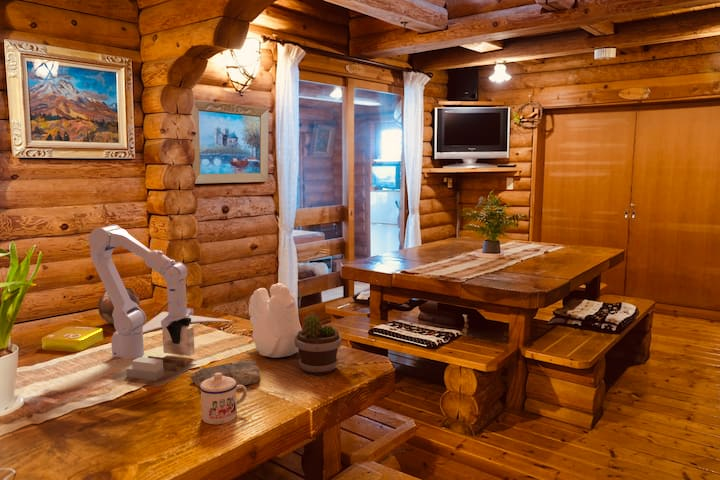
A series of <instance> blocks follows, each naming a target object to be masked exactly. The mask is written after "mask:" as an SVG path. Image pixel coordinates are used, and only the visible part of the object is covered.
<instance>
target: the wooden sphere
mask: <svg viewBox="0 0 720 480" xmlns="http://www.w3.org/2000/svg"><path fill="white" fill-rule="evenodd" d="M125 288H126V291H127V293H128V295H129V297H130V299H131V300H132V301H133V302H135V303H137V304H138V306H139V308H140V309H141V307H140V306H141V305H140V304H141V303H140V299H139V296H138V295H137V294H136V292H135V291H134V290H133V289H131V288H130V287H129V288H128V287H126V286H125ZM97 307H98V308H97V309H98V313H99V315H100V317H101V318H102V320H104V322H106V323H108V324H110V325H113V326H114V319H113V317H112V313H113V310H114V306H113V304H112V302H111V299H110V297H109V295H108V293H107V291H106V290H105V291H104V293H102V295H101V296H100V298H99V300H98V304H97Z"/></svg>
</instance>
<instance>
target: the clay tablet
mask: <svg viewBox="0 0 720 480" xmlns="http://www.w3.org/2000/svg"><path fill="white" fill-rule="evenodd" d="M218 372H219V373H222V376H225V377H231V378H233V379H234V380H235V381H236V383H237V385H243V386H247V385H252V384H256V383H259V382H260V381H261V375H260V374H261V373H260V367H258V366H257V362H256V361H252V360H244V361H238V362H236V363H235V362H234V363H232V362H229V363H222V364H218V365H215V366H209V367H203V368H201V369H198V370H196V371H195V372H193V373H192V374H191V375H190V376H189V378H190V380H191V382H192V383H194V384H195V385H196V386H197V387H198V388H200V385H201V383H202V382H203V381H205V380H206V379H209V378H211V377H213V376H214V374H215V373H218Z"/></svg>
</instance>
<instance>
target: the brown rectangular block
mask: <svg viewBox="0 0 720 480" xmlns="http://www.w3.org/2000/svg"><path fill="white" fill-rule="evenodd" d="M161 331H162V333H161V334H162V349H163V351H162V352H163V354H168V355H169V354H170V355H178V356H179V355H181V356H188V357H191V356H193V355H195V353H196V352H195V351H196V350H195V333H194V331H195V330H194V326H192V325H189V326H183V325H182V328H181V332H180V343H179V344H173V342H172V339H171V336H170V333H169V331H168V330H167V328H166V327H164V326H162V328H161Z"/></svg>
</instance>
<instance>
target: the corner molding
mask: <svg viewBox="0 0 720 480" xmlns="http://www.w3.org/2000/svg"><path fill="white" fill-rule="evenodd" d="M167 315H168V311H161V312H160V313H158V314H157V315H156V316H154V317H153V318H151V319H150V320H149V321H147V322H145V323H144V324H143V334H146V333H149V332H152V331H155V330H161V329H162V326H161V320H163V319H164V318H165V317H166V316H167ZM188 318H191V322H190V324H196V323H210V322H212V323H213V322H216V323H217V322H232V320H229V319H222V318H215V317H207V316H202V315H200V316H199V315H194V314H193V315H190V317H188Z"/></svg>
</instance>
